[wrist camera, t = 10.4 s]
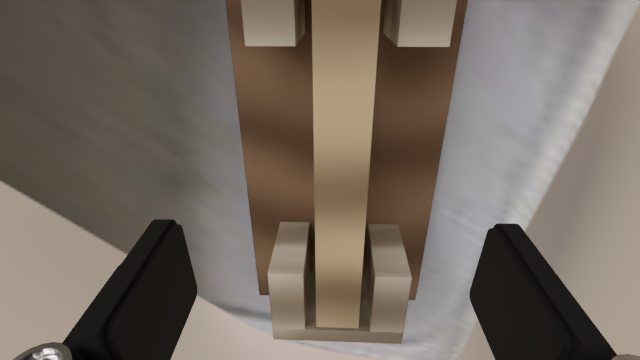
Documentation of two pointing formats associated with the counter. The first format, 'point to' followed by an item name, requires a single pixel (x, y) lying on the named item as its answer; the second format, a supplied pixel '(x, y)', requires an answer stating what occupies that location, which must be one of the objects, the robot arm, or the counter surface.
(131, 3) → the counter surface
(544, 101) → the counter surface
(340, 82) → the slat
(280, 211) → the board
